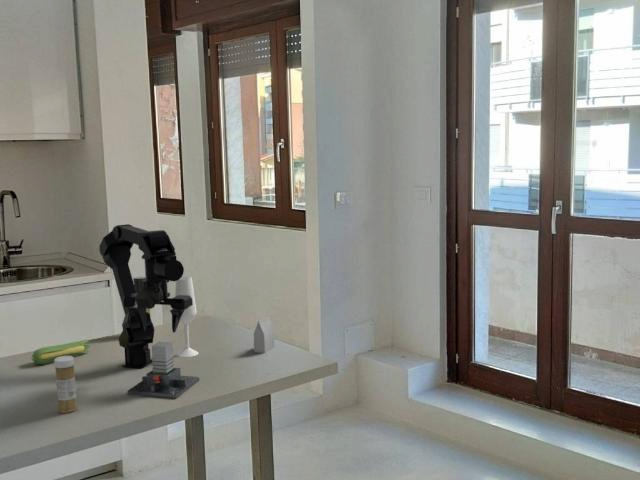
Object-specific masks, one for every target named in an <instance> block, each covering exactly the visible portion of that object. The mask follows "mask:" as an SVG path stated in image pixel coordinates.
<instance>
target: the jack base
mask: <svg viewBox="0 0 640 480" xmlns="http://www.w3.org/2000/svg"><path fill="white" fill-rule="evenodd" d="M198 382H200V376H192V375H191V376H190V375H189V376H188V375H181V368H180V367H174V371H172V372H171V373H170V374H168V375H163V374H153V369H152V370H151V371H149V372H148V373H146V375H143V376H141V381H140V382H138V383H136V385H133V386H132V387H130V388H129V389H127V393H126V394H127V395H129V396H139V395H140V396H141V395H142V396H141V397H151V396H152V398H153V397H154V398H163V397H164V398H165V397H166V399H178V398H179V397H181V396H182V395H183V394H184V393H185V392H187V391H188V390H189V389H190V388H192V387H193V386H194V385H196V384H198Z"/></svg>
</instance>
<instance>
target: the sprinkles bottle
mask: <svg viewBox="0 0 640 480" xmlns="http://www.w3.org/2000/svg"><path fill="white" fill-rule="evenodd" d="M74 358H75V357H72V356H60V357H57V358H55V360H54V362H53V363H54V364H53V366H54V369H55V384H56V393H57V394H56V395H57V404H58V406H57V407H58V412H59V413H61V414H68V413H73V412H75V411H76V410H78V406H77V386H76V385H77V384H76V377H75V368H74V367H75V359H74Z"/></svg>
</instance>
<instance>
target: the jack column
mask: <svg viewBox="0 0 640 480" xmlns="http://www.w3.org/2000/svg"><path fill="white" fill-rule="evenodd" d="M173 349H174V347H173V342H171V341H170V342H169V341H158V342H156V343H154V344H153V345H151V360H152V362H151V363H152V370H153V374H163V375H168V374H170V373H171V372H172V371H174V368H175V364H174V362H175V361H174V350H173Z"/></svg>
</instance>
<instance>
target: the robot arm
mask: <svg viewBox="0 0 640 480" xmlns="http://www.w3.org/2000/svg"><path fill="white" fill-rule="evenodd" d="M134 244H135V245H137V247H138V249H139V251H141V252H142V253H143V255H141V259H143V260H144V272H145V276H144V277H145V278H146V281H144V282H143V289H142V290H141V291H140V292H139V293H136V289H135V286H134V281H133V276H132V272H131V270H130V265H129V262H130V259H131V257H132V252H131V249H132V248H133V246H134ZM98 249H99V253H100V255H101V257H102V259H103V262H104V263H105V265H107V267H109V268H110V270H112V274H113V276H114V277H113V278H114V280H115V285H116V287H117V291H118V295H119V298H120V301H121V305H122V309H123V312H124V317H123V321H122V324H121V326H122V331H121V333H120V335H119V336H118V344H119V346H120V347H122V348H124V364H122V367H123V368H131V369H132V368H133V369H134V368H135V369H143V368H145V367H147V366H148V365H149V364H151V363H153V362H152V357H151V349H150V348H149V345H150V344H153V343H154V337H155V336H154V335H155V326H154V324H153V321H152V319H151V318H152V316H151V317H150V314H151V313H150V314H149V313H148V312H147V313H146V308H147V309H150V310H151V309H154V307H155V306H156V305H161V306H163V305H164V306H170V308H172V309H170V310H169V312H170V314H171V331H172V333H173V334H174V333H176V332H177V329H178V327H179V323H180V322H181V321H180V319H181V316H182V314H183V312H184V310H185V309H187V308H188V307H190V306H192V305H193V301H192V298H191V296H190V295H178V296H176V297H175V296H174V297H171V293H170V292H169V291H168V283H169V282H176V281H177V280H179V279H180V278H181V277H182V276H183V275H184V271H185V268H184V265H183V264H182V262H181V261H180V260H178V259H177V254H176V248H175V246H174V244H173V243H172V241H171V238H170V236H169V234H168V233H167V231H165V230H163V229H161V230H147V229H143V228H139V227H136V226H134V225H131V224H129V223H128V224H127V223H126V224H119V225H118V224H117V225H116V226H113V228H112V230H111V231H110V232H109V233H108V234H106V235H105V236H103V238H102V240H101V242H100V244H99V248H98Z"/></svg>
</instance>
